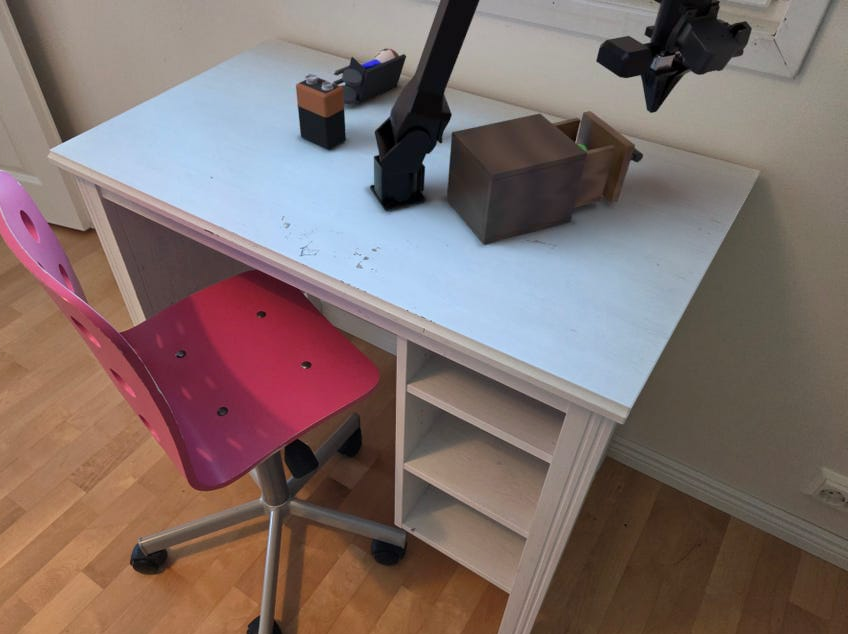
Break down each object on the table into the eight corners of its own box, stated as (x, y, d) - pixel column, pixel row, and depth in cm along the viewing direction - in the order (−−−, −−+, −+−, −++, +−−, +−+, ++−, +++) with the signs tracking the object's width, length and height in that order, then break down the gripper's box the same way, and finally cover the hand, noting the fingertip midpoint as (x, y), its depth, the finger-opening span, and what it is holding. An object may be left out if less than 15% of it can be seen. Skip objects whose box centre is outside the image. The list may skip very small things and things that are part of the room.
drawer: (600, 160, 100) (615, 105, 94) (642, 195, 93) (661, 138, 87) (504, 183, 96) (512, 127, 90) (541, 221, 90) (553, 164, 83)
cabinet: (527, 180, 98) (540, 113, 91) (570, 222, 91) (587, 152, 83) (446, 199, 95) (451, 131, 87) (483, 244, 88) (492, 175, 80)
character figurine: (327, 104, 117) (388, 79, 124) (353, 115, 113) (415, 88, 120) (322, 58, 112) (386, 35, 118) (349, 68, 108) (414, 43, 114)
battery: (318, 128, 111) (313, 68, 103) (347, 141, 107) (344, 80, 100) (299, 138, 108) (293, 78, 101) (328, 151, 105) (324, 90, 98)
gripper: (670, 22, 71) (630, 152, 83) (803, -2, 76) (747, 125, 87) (609, -10, 78) (580, 114, 90) (734, -31, 83) (691, 90, 94)
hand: (651, 111), depth 90 cm, fingers closed
